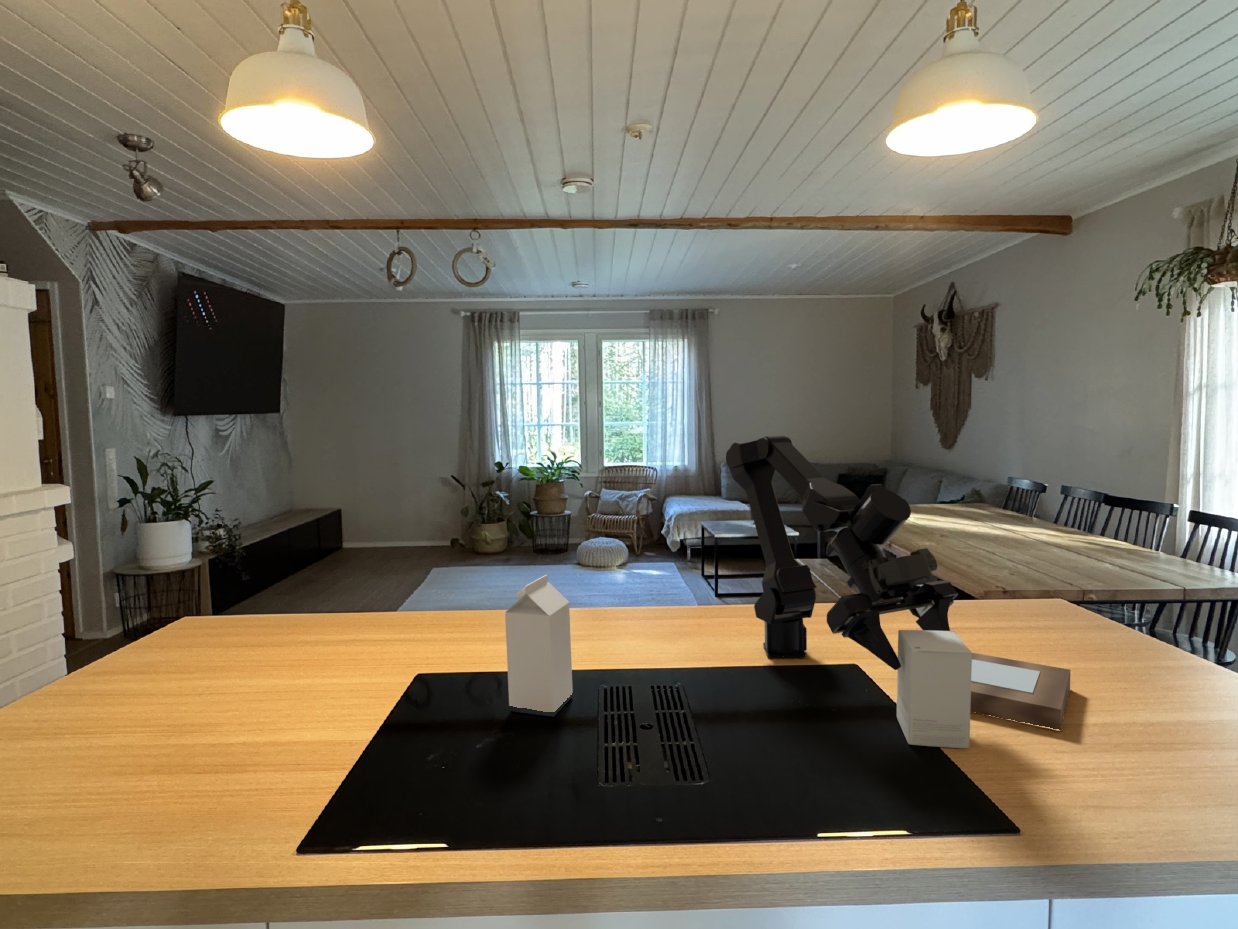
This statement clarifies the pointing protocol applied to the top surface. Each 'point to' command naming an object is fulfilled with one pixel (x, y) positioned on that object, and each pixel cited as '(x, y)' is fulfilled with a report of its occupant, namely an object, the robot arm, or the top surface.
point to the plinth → (1019, 690)
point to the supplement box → (934, 688)
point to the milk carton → (539, 648)
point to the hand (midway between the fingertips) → (926, 662)
